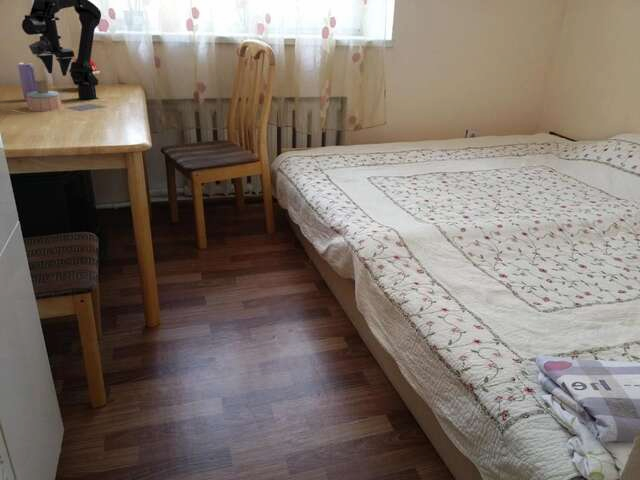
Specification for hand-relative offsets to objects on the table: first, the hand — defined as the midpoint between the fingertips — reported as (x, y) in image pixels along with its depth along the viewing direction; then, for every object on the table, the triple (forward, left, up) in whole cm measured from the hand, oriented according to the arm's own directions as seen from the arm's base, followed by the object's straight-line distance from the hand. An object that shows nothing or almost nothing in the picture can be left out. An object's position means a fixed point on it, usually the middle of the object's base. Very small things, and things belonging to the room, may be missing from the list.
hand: (57, 74), depth 213 cm
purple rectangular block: (+1, -20, -12) cm, 24 cm away
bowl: (+9, +2, -12) cm, 15 cm away
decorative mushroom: (-31, -27, -12) cm, 43 cm away
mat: (-2, +12, -12) cm, 17 cm away
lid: (+9, +2, -7) cm, 11 cm away
